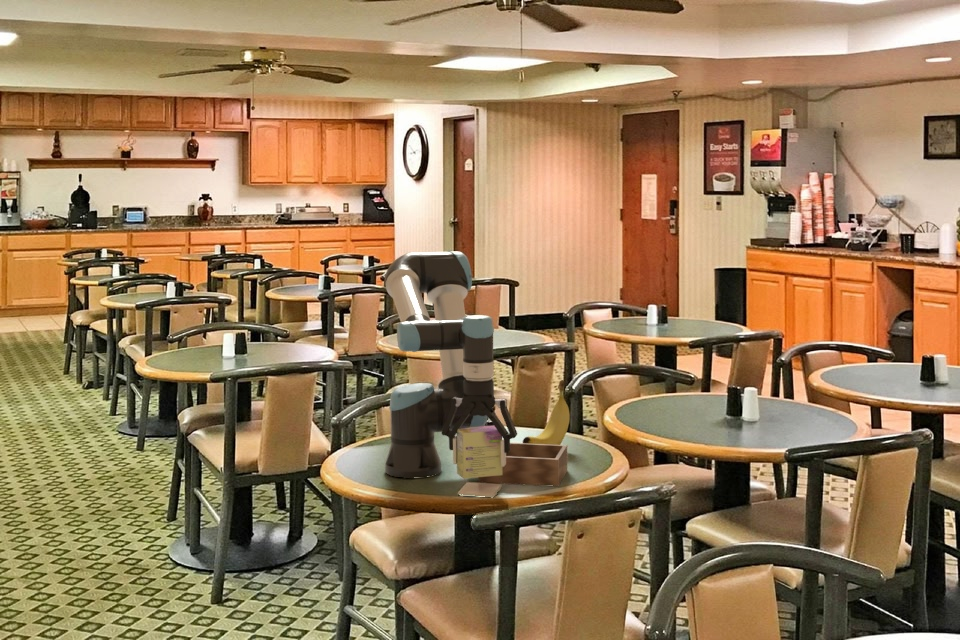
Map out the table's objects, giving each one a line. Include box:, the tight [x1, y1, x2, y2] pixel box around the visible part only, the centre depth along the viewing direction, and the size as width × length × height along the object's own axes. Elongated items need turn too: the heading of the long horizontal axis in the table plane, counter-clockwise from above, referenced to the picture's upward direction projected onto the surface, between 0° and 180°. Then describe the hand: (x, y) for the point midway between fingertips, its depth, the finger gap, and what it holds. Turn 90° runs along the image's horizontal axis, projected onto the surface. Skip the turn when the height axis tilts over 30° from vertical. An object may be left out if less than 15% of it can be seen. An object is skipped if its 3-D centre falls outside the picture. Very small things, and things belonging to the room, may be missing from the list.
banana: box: [522, 379, 570, 445], centre depth 303 cm, size 23×6×20 cm, turn 146°
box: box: [456, 424, 503, 480], centre depth 268 cm, size 10×6×12 cm, turn 108°
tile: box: [457, 481, 502, 498], centre depth 269 cm, size 9×9×1 cm
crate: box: [477, 442, 568, 487], centre depth 283 cm, size 21×15×7 cm
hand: (479, 464), depth 268 cm, fingers closed on box, 11 cm apart
